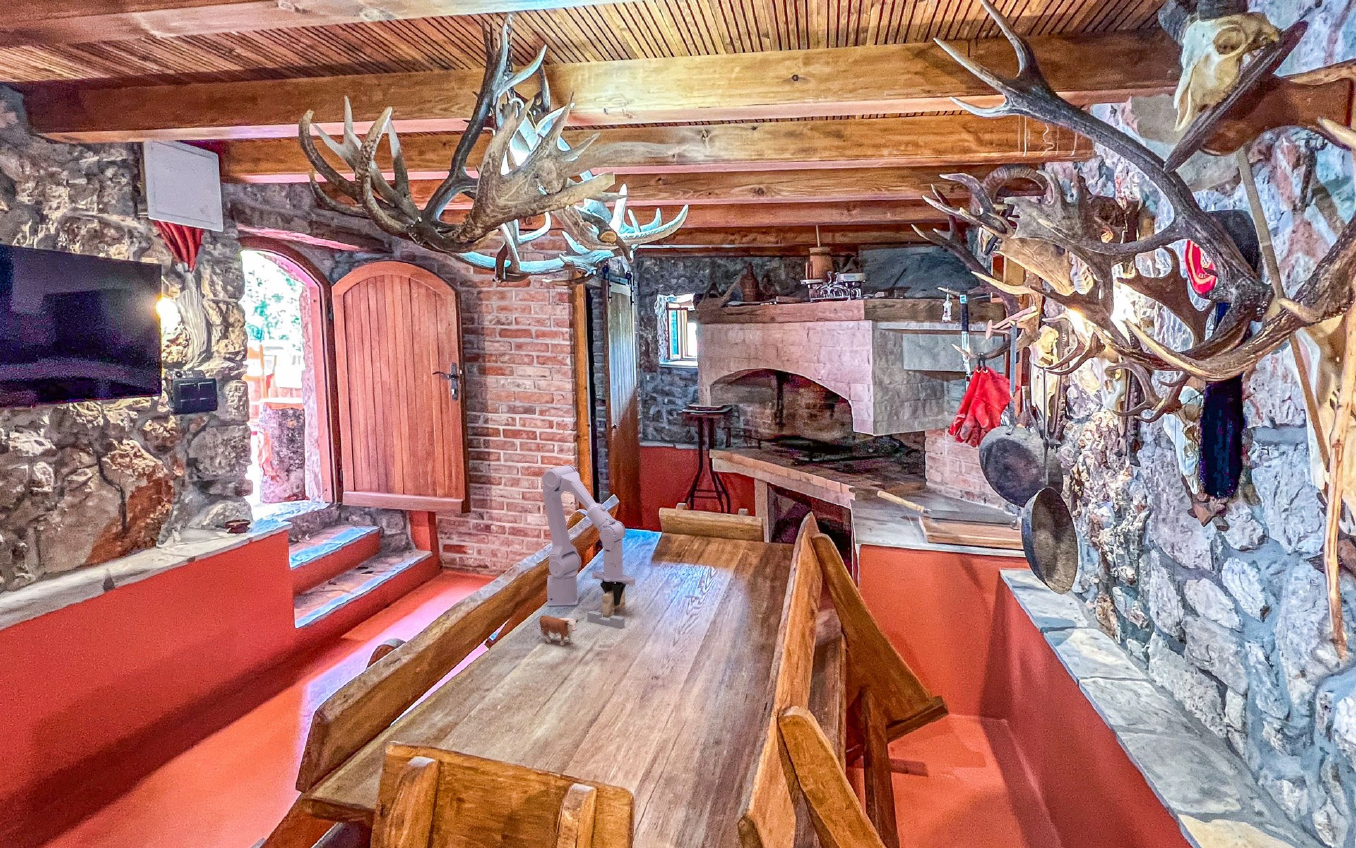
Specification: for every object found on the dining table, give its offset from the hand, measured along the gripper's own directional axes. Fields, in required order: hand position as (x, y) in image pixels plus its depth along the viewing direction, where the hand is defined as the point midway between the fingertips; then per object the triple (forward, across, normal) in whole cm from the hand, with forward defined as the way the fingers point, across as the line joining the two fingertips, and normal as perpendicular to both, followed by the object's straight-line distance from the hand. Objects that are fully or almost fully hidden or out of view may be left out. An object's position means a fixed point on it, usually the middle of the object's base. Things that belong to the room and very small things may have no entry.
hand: (613, 604), depth 233 cm
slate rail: (+3, +3, -9) cm, 10 cm away
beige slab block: (+3, 0, 0) cm, 3 cm away
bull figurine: (+3, -1, -26) cm, 26 cm away
